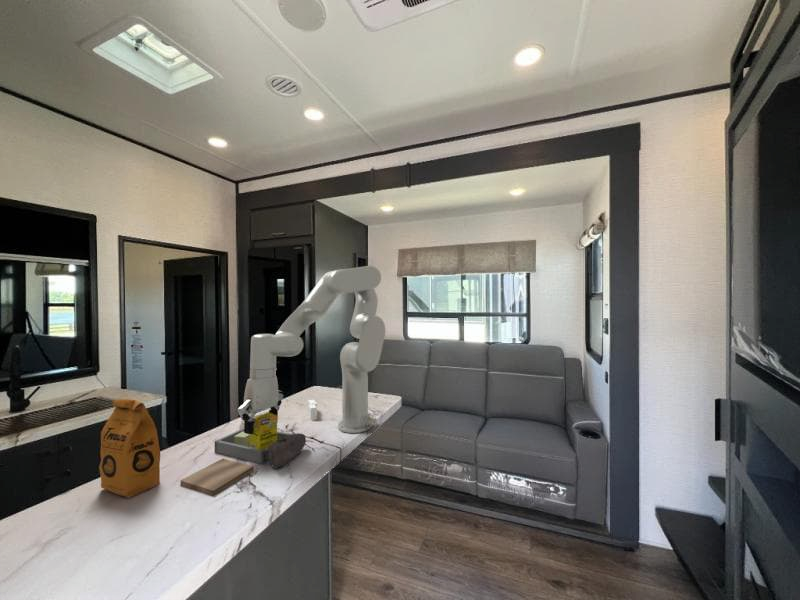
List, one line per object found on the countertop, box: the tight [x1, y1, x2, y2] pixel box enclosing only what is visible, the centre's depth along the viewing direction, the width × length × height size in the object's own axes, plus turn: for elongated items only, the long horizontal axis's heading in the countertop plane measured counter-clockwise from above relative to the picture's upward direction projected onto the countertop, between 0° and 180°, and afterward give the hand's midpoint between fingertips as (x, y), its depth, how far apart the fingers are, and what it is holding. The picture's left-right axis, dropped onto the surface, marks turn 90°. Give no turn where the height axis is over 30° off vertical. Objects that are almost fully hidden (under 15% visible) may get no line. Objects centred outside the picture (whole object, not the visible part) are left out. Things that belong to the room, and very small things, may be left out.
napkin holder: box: [307, 398, 318, 421], centre depth 128 cm, size 15×11×6 cm
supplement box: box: [250, 411, 278, 450], centre depth 98 cm, size 6×6×11 cm
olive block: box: [234, 431, 250, 447], centre depth 101 cm, size 4×4×4 cm
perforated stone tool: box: [269, 433, 307, 469], centre depth 92 cm, size 15×5×7 cm, turn 157°
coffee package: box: [98, 397, 161, 499], centre depth 79 cm, size 10×12×22 cm
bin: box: [214, 427, 294, 465], centre depth 99 cm, size 20×13×4 cm, turn 68°
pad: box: [180, 458, 255, 497], centre depth 83 cm, size 12×12×1 cm
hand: (261, 427), depth 97 cm, fingers open, 9 cm apart
